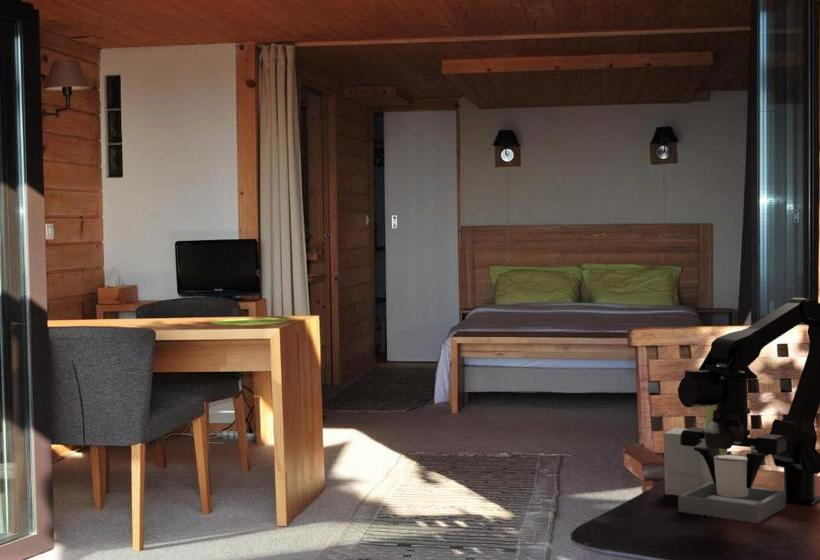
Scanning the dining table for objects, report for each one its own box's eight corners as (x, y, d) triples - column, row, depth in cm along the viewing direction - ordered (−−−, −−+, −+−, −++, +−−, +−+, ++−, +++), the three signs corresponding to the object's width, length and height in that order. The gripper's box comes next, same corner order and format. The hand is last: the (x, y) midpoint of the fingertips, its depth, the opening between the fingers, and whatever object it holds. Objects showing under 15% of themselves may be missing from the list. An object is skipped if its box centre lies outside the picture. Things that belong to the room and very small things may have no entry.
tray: (709, 496, 211) (709, 481, 211) (785, 506, 202) (785, 491, 202) (678, 511, 199) (678, 495, 199) (757, 523, 190) (757, 506, 190)
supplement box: (710, 491, 216) (710, 429, 215) (699, 498, 210) (699, 435, 209) (675, 487, 220) (674, 426, 219) (663, 494, 213) (662, 432, 213)
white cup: (753, 498, 196) (753, 461, 196) (715, 497, 198) (715, 460, 197) (749, 490, 203) (749, 454, 203) (712, 489, 204) (712, 453, 204)
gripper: (667, 405, 199) (668, 487, 200) (765, 413, 188) (766, 500, 188) (691, 398, 208) (692, 477, 208) (786, 405, 196) (787, 489, 197)
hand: (732, 485), depth 200 cm, fingers closed on white cup, 6 cm apart
